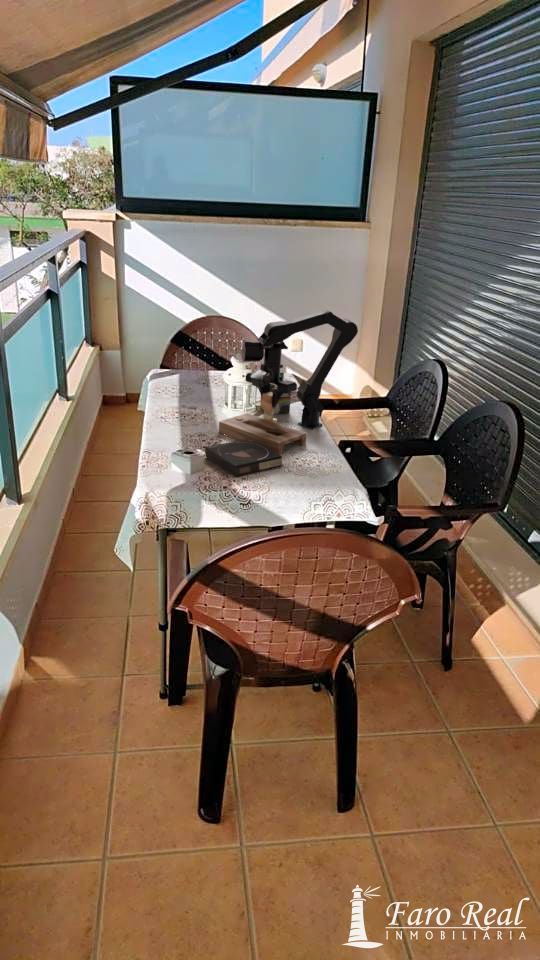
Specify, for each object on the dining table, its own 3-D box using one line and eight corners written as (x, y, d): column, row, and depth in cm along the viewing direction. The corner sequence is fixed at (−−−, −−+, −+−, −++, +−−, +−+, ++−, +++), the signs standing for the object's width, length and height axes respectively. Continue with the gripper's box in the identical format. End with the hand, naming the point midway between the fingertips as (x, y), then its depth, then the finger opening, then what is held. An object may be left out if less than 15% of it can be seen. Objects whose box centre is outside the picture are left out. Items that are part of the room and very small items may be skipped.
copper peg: (267, 419, 237) (269, 391, 233) (276, 423, 235) (279, 394, 230) (259, 422, 234) (260, 393, 230) (268, 425, 231) (270, 396, 227)
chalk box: (282, 406, 257) (285, 368, 251) (290, 413, 249) (293, 374, 243) (259, 407, 254) (261, 368, 248) (266, 414, 246) (269, 375, 240)
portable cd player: (235, 479, 192) (236, 466, 190) (205, 459, 204) (205, 446, 203) (281, 469, 201) (282, 456, 199) (249, 450, 213) (250, 438, 212)
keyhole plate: (246, 424, 235) (247, 412, 233) (305, 444, 220) (306, 432, 218) (218, 432, 225) (219, 420, 223) (278, 454, 210) (279, 442, 208)
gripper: (235, 359, 225) (233, 403, 231) (278, 371, 214) (274, 417, 221) (257, 354, 233) (254, 398, 239) (299, 366, 222) (295, 411, 229)
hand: (269, 406), depth 232 cm, fingers closed on copper peg, 4 cm apart
